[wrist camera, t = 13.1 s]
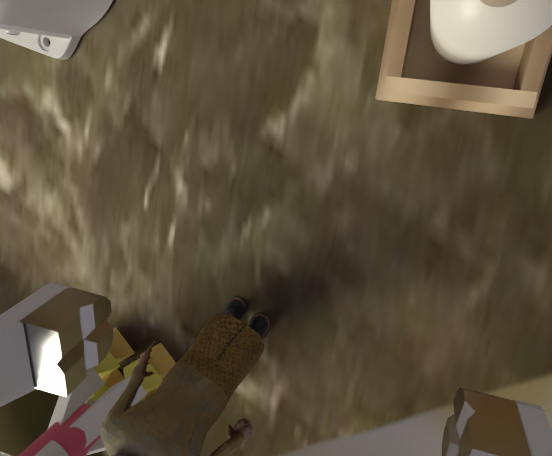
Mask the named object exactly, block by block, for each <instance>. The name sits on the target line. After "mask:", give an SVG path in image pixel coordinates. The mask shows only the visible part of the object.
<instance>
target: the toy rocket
mask: <svg viewBox="0 0 552 456" xmlns="http://www.w3.org/2000/svg"><path fill="white" fill-rule="evenodd" d="M113 335H114V336H113V342H112V346H111V348H110V350H109V352H108V354H107V356H106V357H105V358H104V359H103V361H102V362H101V363H100V364H99V365H97V366H94V367H92V368H89V369H87V374H86V378H85V379H84V380H83V381H82V382H81V383H80V384H79V385H78V386H77V387H76V388H75V389H74V390H73V391H72V392H71V393H70V394H69V396H68V397H65V396H61V395H60V396H59V399H58V401H57V404H56V407H55V410H54V413H53V415H52V418H51V421H50V424H49V427H48V430H47V431H46V432H44V433H43V434H42V435H41V436H40V437H39V438H38V439H37V440H35V441H34V442H33V443H32V444H31V445H30V446H29V447H28V448H27V449H26V450H24V451H23V452H22V453H21V454H20V455H19V456H85V455H89V454H93V453H97V452H100V451H104V450H106V448H105V446H104V444H103V441H102V439H101V436H100V430H101V426H102V424H103V422H104V420H105V418H106V415H107V414H108V412H109V411H110V410H111V408H112V407H113V406H114V404H115V403H116V401H117V400H118V399H119V397H120V396H121V394H122V393H123V391H124V390H125V388H126V387H127V385H128V383H129V380H130V376H131V373H132V371H133V369H134V368H135V366H136V364H137V362H138V360H139V359H140V358H139V359H138V360H136V361H134V362H133V363H131V364H129V365H127V366H126V367H124V368H123V370H124V377H123V375H122V374H121V373H120V371H119V370H118V369H117V368H119V367H120V365H119V362H121V361H123V360H124V359H126V358H128V357H129V356H131V355H133V354H134V353H135V352H134V351H133V350H132V348H131V347H130V346H129V344H128V343H127V342H126V340H125V339H124V337H123V336H122V335H121V333H120V332H119V331H118V329H117V328H114V329H113ZM142 354H143V353H142ZM142 354H140V357H141V355H142ZM150 357H151V358H150V359H149V360H148V362H149V364H148V365H147V369H146V371H147V372H150V371H152V372H154V374H153V375H151V376H149V377H145V378H144V380H143V382H142V384H141V386H140V387H139V389H138V391H137V393H136V396H135V398H134V400H133V402H132V404H131V407H132V406H133V405H135V404H137V403H138V402H140V401H142V400H143V399H145V398H147V397H148V396H150V395H152V394H153V393H155V392H156V390H157V389H158V387H159V386H160V384H161V382H162V381H163V380H162V379H163V378H164V377H165V376H166V374H167V373H168V371H169V370H170V369H171V368H172V367H173V366H174V365H175V364H176V362H175V361H174V360H173V358H172V357H171V356H170V354H169V353H168V351H167V350H166V349H165V347H164V346H163V345H162V343H159V344H157V345H156V346H154V347H152V351H151V353H150Z"/></svg>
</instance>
